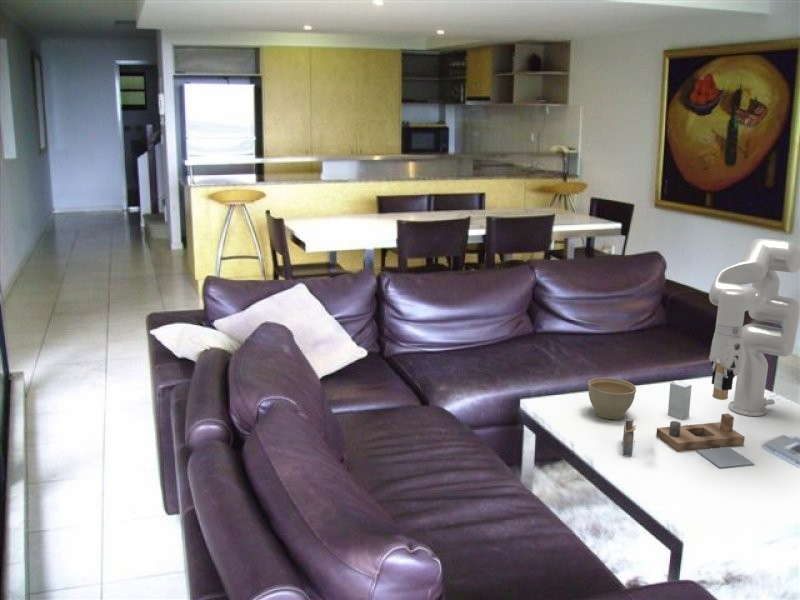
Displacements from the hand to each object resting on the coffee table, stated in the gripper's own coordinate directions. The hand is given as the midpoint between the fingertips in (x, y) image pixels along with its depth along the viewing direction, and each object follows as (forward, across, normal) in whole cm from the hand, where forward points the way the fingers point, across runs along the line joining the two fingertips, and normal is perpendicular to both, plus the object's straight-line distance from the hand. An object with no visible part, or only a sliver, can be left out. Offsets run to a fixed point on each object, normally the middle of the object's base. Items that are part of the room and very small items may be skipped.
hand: (721, 386), depth 243 cm
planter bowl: (+22, +33, +19) cm, 44 cm away
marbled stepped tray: (+22, +7, +26) cm, 35 cm away
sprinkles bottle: (+4, 0, 0) cm, 4 cm away
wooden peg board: (+22, +8, 0) cm, 23 cm away
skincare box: (+22, +28, -5) cm, 36 cm away
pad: (+22, -5, 0) cm, 22 cm away
